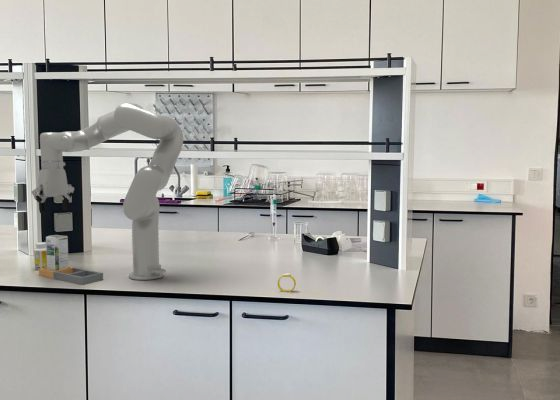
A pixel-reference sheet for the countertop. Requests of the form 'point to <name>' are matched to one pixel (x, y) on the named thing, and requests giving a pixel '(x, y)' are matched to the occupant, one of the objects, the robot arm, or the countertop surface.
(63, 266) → the syrup box
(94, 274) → the compartment tray
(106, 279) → the countertop surface
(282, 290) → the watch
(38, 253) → the supplement bottle
